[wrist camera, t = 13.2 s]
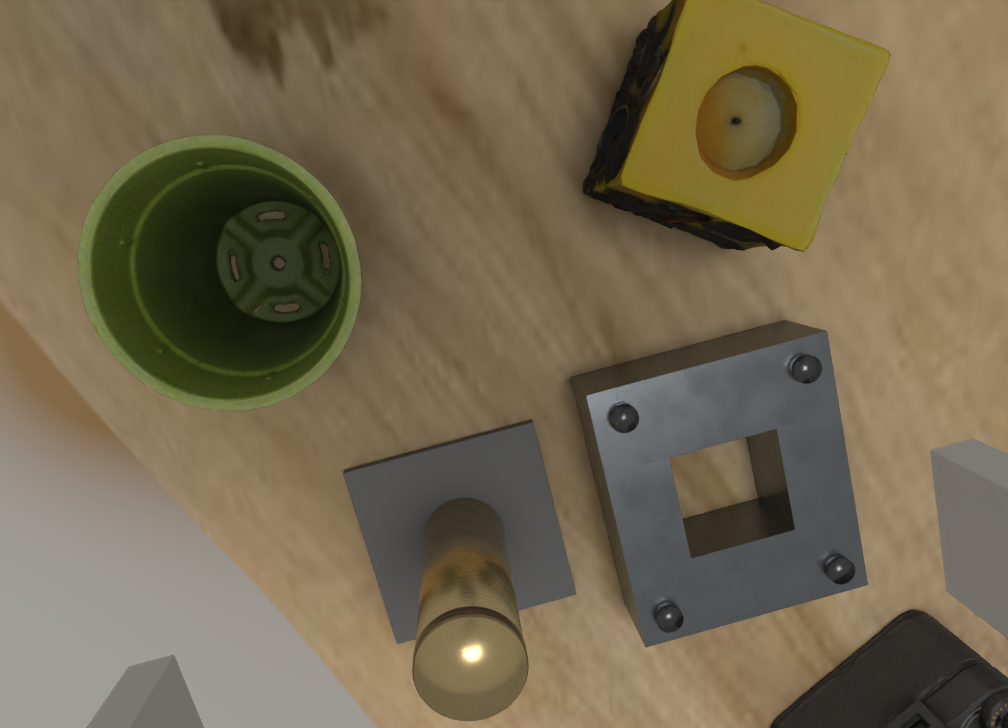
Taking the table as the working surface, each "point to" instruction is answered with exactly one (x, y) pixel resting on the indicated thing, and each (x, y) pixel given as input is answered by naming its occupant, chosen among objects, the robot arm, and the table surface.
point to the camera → (906, 684)
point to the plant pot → (218, 272)
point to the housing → (735, 529)
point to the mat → (451, 475)
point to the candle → (734, 122)
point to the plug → (467, 616)
